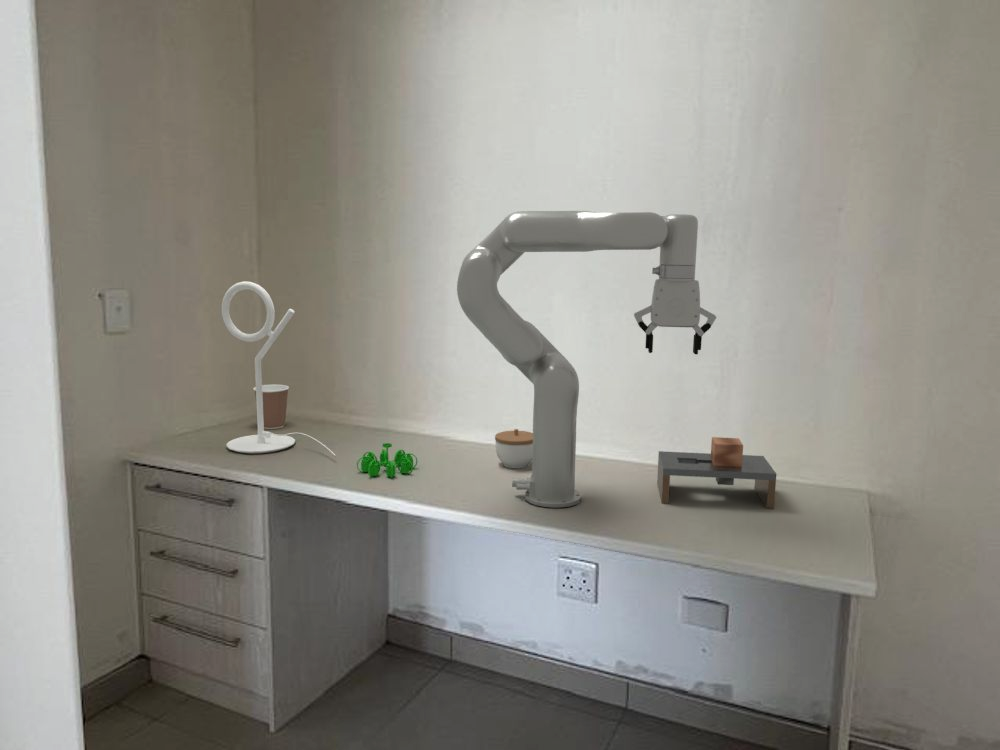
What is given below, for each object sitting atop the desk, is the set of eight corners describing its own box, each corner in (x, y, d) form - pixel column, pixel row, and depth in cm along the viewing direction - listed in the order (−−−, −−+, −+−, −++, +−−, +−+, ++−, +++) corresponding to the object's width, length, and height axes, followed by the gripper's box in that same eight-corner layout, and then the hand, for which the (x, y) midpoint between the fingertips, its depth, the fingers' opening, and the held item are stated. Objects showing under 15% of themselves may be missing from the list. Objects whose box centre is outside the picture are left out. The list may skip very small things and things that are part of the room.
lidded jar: (490, 460, 205) (490, 425, 204) (529, 457, 208) (530, 423, 206) (500, 472, 195) (501, 435, 193) (541, 469, 198) (542, 433, 196)
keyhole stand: (661, 503, 174) (663, 468, 172) (657, 483, 188) (658, 451, 186) (773, 509, 171) (776, 473, 170) (760, 488, 185) (763, 455, 183)
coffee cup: (295, 423, 243) (293, 384, 241) (282, 431, 233) (281, 391, 231) (262, 421, 244) (261, 383, 242) (249, 429, 234) (247, 390, 231)
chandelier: (429, 468, 199) (429, 441, 197) (394, 484, 186) (394, 456, 184) (381, 459, 206) (380, 434, 204) (344, 474, 193) (343, 447, 191)
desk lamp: (208, 450, 211) (198, 282, 203) (248, 434, 228) (241, 278, 220) (332, 464, 200) (327, 286, 192) (365, 446, 217) (362, 282, 209)
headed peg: (712, 485, 176) (715, 443, 174) (709, 477, 182) (711, 437, 180) (740, 487, 175) (743, 445, 173) (736, 479, 181) (738, 438, 179)
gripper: (636, 273, 165) (633, 354, 168) (721, 275, 163) (716, 356, 166) (635, 271, 173) (631, 349, 176) (715, 273, 170) (711, 351, 173)
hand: (672, 352), depth 171 cm, fingers open, 9 cm apart
